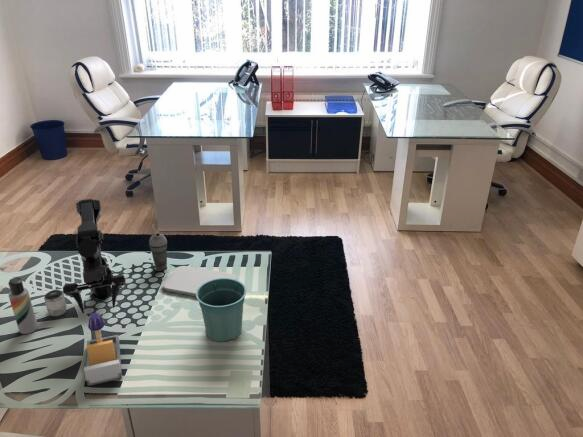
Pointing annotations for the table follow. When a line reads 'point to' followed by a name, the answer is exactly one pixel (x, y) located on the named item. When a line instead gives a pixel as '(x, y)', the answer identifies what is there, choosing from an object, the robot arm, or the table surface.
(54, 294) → the jar with dark lid
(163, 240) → the beverage cup
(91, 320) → the toy lamp
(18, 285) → the lotion bottle
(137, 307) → the table surface
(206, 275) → the tablet
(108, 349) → the block
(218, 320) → the flower pot
